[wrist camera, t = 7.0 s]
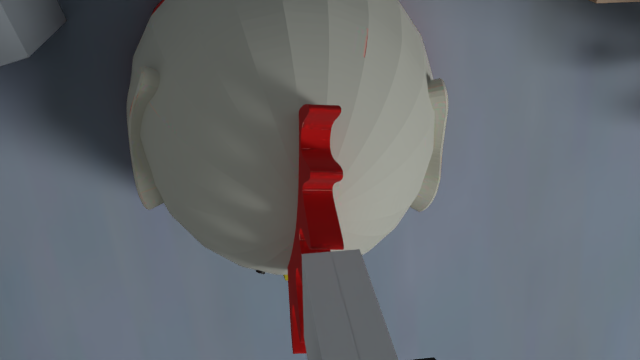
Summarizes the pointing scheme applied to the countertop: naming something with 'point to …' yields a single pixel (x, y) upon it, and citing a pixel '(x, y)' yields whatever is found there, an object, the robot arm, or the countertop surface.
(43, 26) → the slate block
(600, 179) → the countertop surface
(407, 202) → the kitchen timer
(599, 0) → the walnut block
